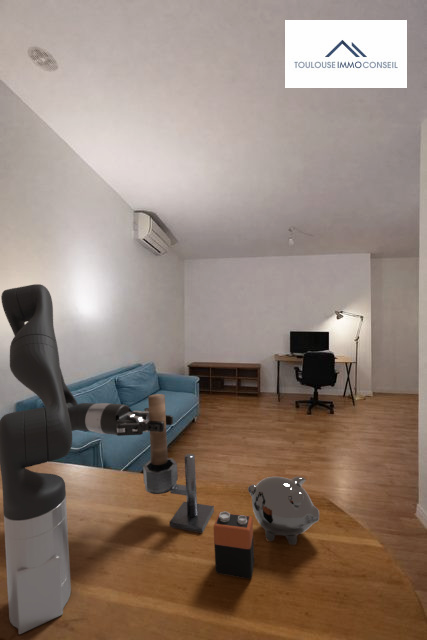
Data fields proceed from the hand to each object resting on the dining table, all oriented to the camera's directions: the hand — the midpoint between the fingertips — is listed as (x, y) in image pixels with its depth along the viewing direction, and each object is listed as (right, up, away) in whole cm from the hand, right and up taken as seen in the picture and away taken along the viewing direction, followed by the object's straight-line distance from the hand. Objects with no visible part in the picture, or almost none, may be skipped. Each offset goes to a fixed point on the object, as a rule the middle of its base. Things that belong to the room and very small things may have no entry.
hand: (167, 423), depth 74 cm
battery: (+15, -22, -16) cm, 31 cm away
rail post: (-2, -10, +1) cm, 10 cm away
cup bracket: (+2, -22, 0) cm, 22 cm away
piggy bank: (+26, -21, -8) cm, 35 cm away
